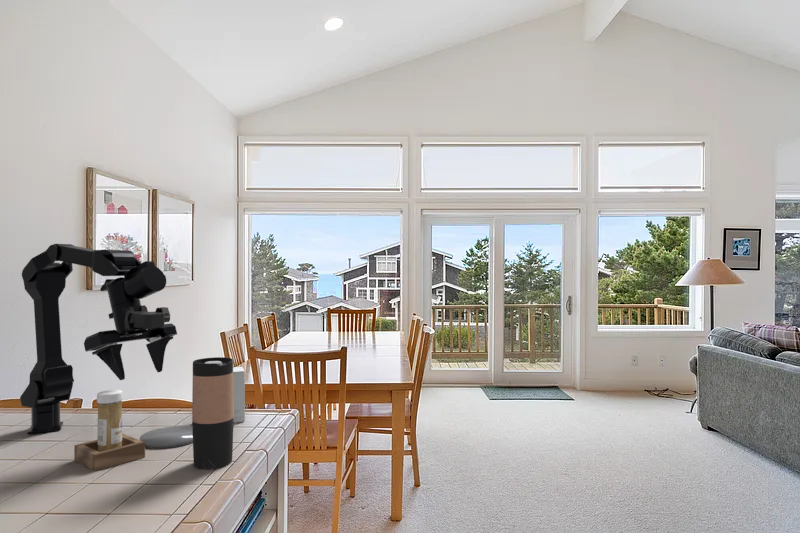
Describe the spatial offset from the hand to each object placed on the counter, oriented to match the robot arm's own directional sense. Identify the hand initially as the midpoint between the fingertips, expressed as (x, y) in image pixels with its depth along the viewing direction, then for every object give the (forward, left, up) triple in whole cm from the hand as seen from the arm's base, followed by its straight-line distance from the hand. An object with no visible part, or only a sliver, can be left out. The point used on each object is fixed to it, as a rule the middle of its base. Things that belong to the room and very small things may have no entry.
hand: (141, 375), depth 114 cm
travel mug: (+16, +12, -15) cm, 26 cm away
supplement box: (-14, +20, -15) cm, 29 cm away
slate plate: (-4, +6, -15) cm, 17 cm away
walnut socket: (+4, -6, -15) cm, 17 cm away
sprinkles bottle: (+4, -6, -15) cm, 17 cm away
